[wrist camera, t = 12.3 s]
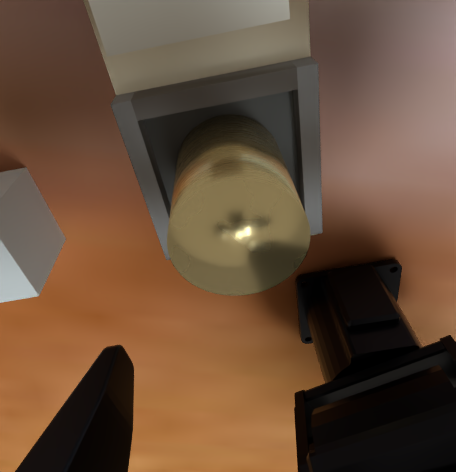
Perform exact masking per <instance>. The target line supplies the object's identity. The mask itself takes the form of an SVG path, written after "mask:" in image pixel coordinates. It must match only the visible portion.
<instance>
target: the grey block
mask: <svg viewBox="0 0 456 472" xmlns="http://www.w3.org/2000/svg"><path fill="white" fill-rule="evenodd" d="M65 240H66V238H65V236H64V234H63V233H62V231H61V229H60V227H59V225H58V224H57V222H56V220H55V218H54V216H53V215H52V213H51V211H50V209H49V207H48V206H47V204H46V202H45V200H44V198H43V196H42V195H41V193H40V191H39V189H38V187H37V186H36V184H35V182H34V180H33V178H32V177H31V175H30V173H29V171H28V169H27V167H25V168H20V169H15V170H9V171H4V172H0V303H2V302H7V301H13V300H19V299H24V298H30V297H36V296H39V295H40V293H41V291H42V289H43V286H44V284H45V282H46V280H47V278H48V276H49V274H50V272H51V270H52V268H53V265H54V263H55V261H56V259H57V257H58V255H59V253H60V251H61V249H62V246H63V244H64V242H65Z"/></svg>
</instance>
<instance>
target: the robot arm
mask: <svg viewBox="0 0 456 472" xmlns="http://www.w3.org/2000/svg"><path fill="white" fill-rule="evenodd" d="M392 267H393V268H392ZM401 271H402V266H401V265H400V263H399V262H398V260H395V259H391V260H385V261H379V262H373V263H367V264H362V265H356V266H350V267H344V268H338V269H332V270H326V271H320V272H314V273H308V274H302V275H300V276H298V277H297V278H296V281H295V283H296V294H297V305H298V316H299V328H300V337H301V341H302V342H303V343H305V344H309V343H313V344H314V347H315V350H316V354H317V357H318V361H319V364H320V367H321V371H322V374H323V378H324V381H325V384H322V385H320V386H317V387H314V388H312V389H309V390H306V391H305V390H301V391H299V392H296V393H295V408H294V411H295V428H296V445H297V462H298V472H456V342H455V341H454V339H453V338H452V337H451V335H448V336H446V337H443V338H440V341H438V342H435V343H432V344H430V345H427V346H424V347H422V345H421V344H420V342H419V340H418V338H417V337H416V335H415V333H414V331H413V330H412V328H411V326H410V324H409V322H408V321H407V319H406V317H405V315H404V314H403V312H402V310H401V308H400V307H399V305H398V303H397V298H398V292H399V285H400V278H401ZM302 282H305V283H302ZM133 400H134V367H133V363H132V361H131V359H130V358H129V356H128V354H127V353H126V351H125V349H124V348H123V346H121V345H114V346H109V347H106V348H105V349H103V351H102V352H101V353H100V355H99V356H98V358H97V359H96V360H95V362H94V363H93V364H92V366H91V367H90V369H89V370H88V371H87V373H86V374H85V376H84V377H83V378H82V380H81V381H80V382H79V384H78V385H77V387H76V388H75V389H74V391H73V392H72V394H71V395H70V396H69V398H68V399H67V400H66V402H65V403H64V405H63V406H62V407H61V409H60V410H59V411H58V413H57V414H56V416H55V417H54V418H53V420H52V421H51V423H50V424H49V425H48V427H47V428H46V429H45V431H44V432H43V434H42V435H41V436H40V438H39V439H38V441H37V442H36V443H35V445H34V446H33V447H32V449H31V450H30V452H29V453H28V454H27V456H26V457H25V458H24V460H23V461H22V463H21V464H20V465H19V467H18V468H17V470H16V471H15V472H128V466H129V458H130V450H131V442H132V432H133Z"/></svg>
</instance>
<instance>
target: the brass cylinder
mask: <svg viewBox="0 0 456 472" xmlns="http://www.w3.org/2000/svg"><path fill="white" fill-rule="evenodd" d="M309 244H310V225H309V222H308V218H307V216H306V213H305V211H304V208H303V206H302V204H301V201H300V199H299V196H298V194H297V191H296V189H295V186H294V184H293V181H292V179H291V177H290V174H289V172H288V169H287V167H286V164H285V162H284V159H283V157H282V154H281V152H280V150H279V147H278V145H277V143H276V141H275V139H274V137H273V136H272V134H271V133H270V132H269V131H268V130H267V129H266V128H265V127H264V126H263V125H262V124H260V123H258V122H257V121H255V120H253V119H251V118H248V117H245V116H240V115H220V116H216V117H212V118H210V119H207V120H205V121H203V122H202V123H200V124H199V125H197V126H196V127H195V128H193V129H192V130H191V131H190V132H189V134H188V135H187V136H186V137H185V139H184V141H183V143H182V144H181V147H180V149H179V153H178V158H177V166H176V173H175V181H174V188H173V196H172V203H171V210H170V218H169V225H168V233H167V249H168V253H169V257H170V259H171V261H172V263H173V265H174V267H175V268H176V270H177V271H178V272H179V273H180V274H181V275H182V276H183V277H184V278H185V279H186V280H187V281H189V282H190V283H192V284H193V285H195V286H197V287H199V288H201V289H203V290H206V291H208V292H212V293H216V294H221V295H231V296H236V295H249V294H254V293H258V292H261V291H264V290H267V289H269V288H272V287H274V286H276V285H278V284H279V283H281V282H282V281H284V280H285V279H287V278H288V277H289V276H290V275H291V274H293V273H294V271H295V270H296V269H297V268H298V267H299V266H300V264H301V263H302V261H303V260H304V258H305V256H306V254H307V251H308V248H309Z"/></svg>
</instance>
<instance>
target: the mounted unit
mask: <svg viewBox="0 0 456 472" xmlns="http://www.w3.org/2000/svg"><path fill="white" fill-rule="evenodd" d="M83 1H84V4H85V7H86V10H87V13H88V16H89V19H90V21H91V24H92V27H93V30H94V33H95V36H96V39H97V42H98V45H99V47H100V50H101V53H102V56H103V59H104V62H105V65H106V68H107V71H108V73H109V76H110V79H111V82H112V85H113V88H114V91H115V94H116V96H115V98H114V100H113V101H112V103H111V107H112V110H113V113H114V116H115V119H116V121H117V124H118V127H119V130H120V132H121V135H122V138H123V141H124V144H125V146H126V149H127V152H128V155H129V157H130V160H131V163H132V166H133V168H134V171H135V174H136V177H137V180H138V182H139V185H140V188H141V191H142V193H143V196H144V199H145V202H146V205H147V207H148V210H149V213H150V216H151V218H152V221H153V224H154V227H155V230H156V232H157V235H158V238H159V241H160V243H161V246H162V249H163V252H164V255H165V257H166V260H170V257H169V253H168V249H167V233H168V225H169V218H170V210H171V203H172V196H173V188H174V181H175V173H176V166H177V158H178V153H179V149H180V147H181V144H182V143H183V141H184V139H185V137H186V136H187V135H188V134H189V132H190V131H191V130H192V129H193V128H195V127H196V126H197V125H199V124H200V123H202V122H203V121H205V120H207V119H210V118H212V117H216V116H220V115H240V116H245V117H248V118H251V119H253V120H255V121H257V122H258V123H260V124H262V125H263V126H264V127H265V128H266V129H267V130H268V131H269V132H270V133H271V134H272V136H273V137H274V139H275V141H276V143H277V145H278V147H279V150H280V152H281V154H282V157H283V159H284V162H285V164H286V167H287V169H288V172H289V174H290V177H291V179H292V181H293V184H294V186H295V189H296V191H297V194H298V196H299V199H300V201H301V204H302V206H303V208H304V211H305V213H306V216H307V218H308V222H309V225H310V236H311V235H317V234H319V233H323V232H322V193H321V154H320V115H319V77H318V63H317V62H316V61H315V60H314V59H313V58H312V57H311V56H310V28H309V1H308V0H83Z"/></svg>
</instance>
